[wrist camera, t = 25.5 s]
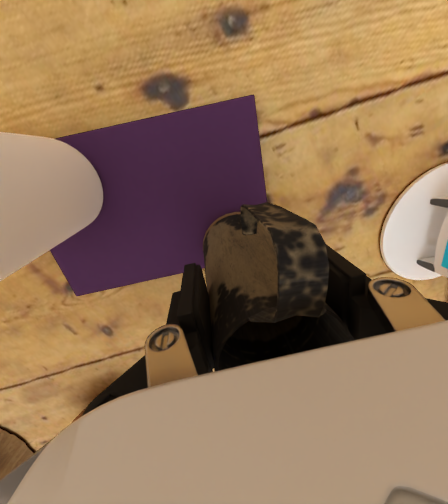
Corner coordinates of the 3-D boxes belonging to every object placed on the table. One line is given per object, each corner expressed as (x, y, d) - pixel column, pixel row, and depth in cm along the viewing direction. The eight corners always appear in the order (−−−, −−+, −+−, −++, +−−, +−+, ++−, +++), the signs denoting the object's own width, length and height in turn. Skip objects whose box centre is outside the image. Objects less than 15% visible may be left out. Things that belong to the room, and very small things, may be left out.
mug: (270, 273, 19) (361, 429, 8) (206, 280, 19) (215, 452, 8) (271, 178, 16) (423, 228, 5) (195, 184, 16) (185, 252, 5)
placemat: (79, 292, 21) (76, 296, 20) (0, 152, 16) (-8, 152, 15) (271, 250, 21) (273, 253, 20) (252, 96, 16) (254, 94, 15)
